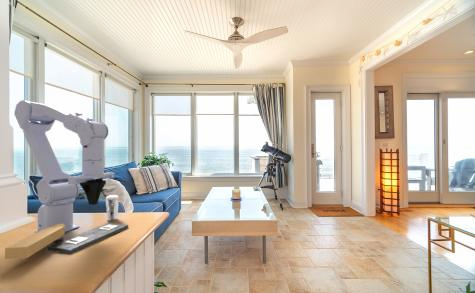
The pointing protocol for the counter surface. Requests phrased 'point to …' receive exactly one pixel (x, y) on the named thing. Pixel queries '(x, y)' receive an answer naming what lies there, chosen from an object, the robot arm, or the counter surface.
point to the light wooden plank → (34, 242)
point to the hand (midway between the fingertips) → (93, 204)
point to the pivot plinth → (58, 240)
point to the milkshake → (112, 207)
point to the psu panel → (86, 238)
